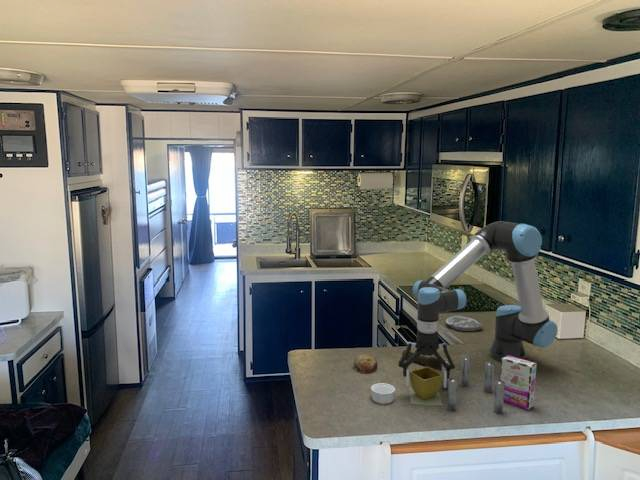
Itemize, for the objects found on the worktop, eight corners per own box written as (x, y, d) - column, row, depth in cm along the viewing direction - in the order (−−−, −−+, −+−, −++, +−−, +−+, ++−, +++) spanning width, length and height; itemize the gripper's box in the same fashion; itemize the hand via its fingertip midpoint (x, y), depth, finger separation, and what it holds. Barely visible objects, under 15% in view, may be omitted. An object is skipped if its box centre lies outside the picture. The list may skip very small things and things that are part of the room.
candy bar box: (534, 406, 182) (537, 362, 180) (528, 411, 179) (531, 367, 176) (504, 395, 190) (507, 354, 187) (498, 400, 187) (501, 357, 184)
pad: (437, 389, 195) (437, 388, 195) (442, 406, 182) (442, 405, 182) (408, 388, 196) (408, 387, 196) (411, 404, 183) (411, 403, 183)
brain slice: (436, 325, 269) (437, 319, 268) (459, 319, 278) (459, 314, 278) (465, 336, 253) (466, 330, 252) (488, 330, 262) (488, 324, 261)
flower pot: (422, 403, 183) (423, 380, 181) (408, 393, 191) (408, 370, 189) (442, 398, 187) (443, 375, 185) (426, 388, 195) (427, 366, 193)
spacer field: (488, 384, 200) (490, 357, 198) (503, 414, 177) (505, 384, 175) (439, 381, 201) (440, 355, 200) (447, 411, 179) (448, 381, 177)
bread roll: (351, 375, 216) (346, 361, 212) (365, 359, 222) (360, 345, 218) (370, 382, 209) (365, 368, 205) (383, 365, 215) (379, 351, 211)
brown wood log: (401, 359, 224) (401, 349, 223) (406, 357, 227) (406, 347, 226) (438, 373, 210) (438, 362, 210) (443, 370, 213) (443, 359, 212)
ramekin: (369, 393, 192) (370, 382, 191) (393, 393, 192) (393, 383, 191) (371, 404, 183) (371, 393, 182) (396, 405, 183) (396, 394, 182)
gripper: (393, 332, 182) (392, 388, 186) (464, 335, 180) (462, 391, 183) (392, 325, 189) (391, 379, 193) (461, 327, 187) (458, 382, 191)
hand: (425, 385), depth 188 cm, fingers open, 13 cm apart
